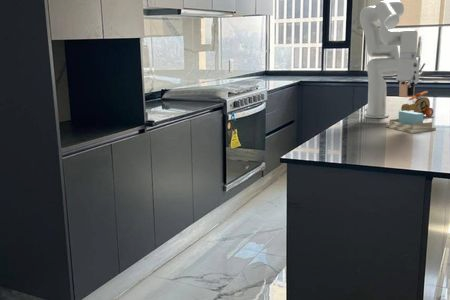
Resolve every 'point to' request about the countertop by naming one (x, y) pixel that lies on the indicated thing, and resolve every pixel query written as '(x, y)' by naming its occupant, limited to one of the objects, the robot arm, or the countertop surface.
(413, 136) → the countertop surface
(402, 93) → the peach brick
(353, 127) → the countertop surface
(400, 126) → the jig
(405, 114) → the light blue block
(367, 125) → the countertop surface
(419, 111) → the toy helicopter
